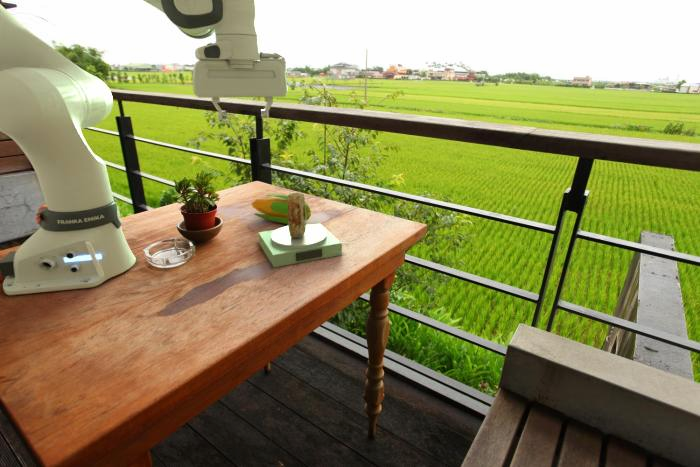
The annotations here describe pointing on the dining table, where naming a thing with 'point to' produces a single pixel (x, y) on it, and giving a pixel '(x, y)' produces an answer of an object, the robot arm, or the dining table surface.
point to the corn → (275, 208)
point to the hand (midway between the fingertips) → (244, 118)
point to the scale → (299, 245)
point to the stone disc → (296, 215)
